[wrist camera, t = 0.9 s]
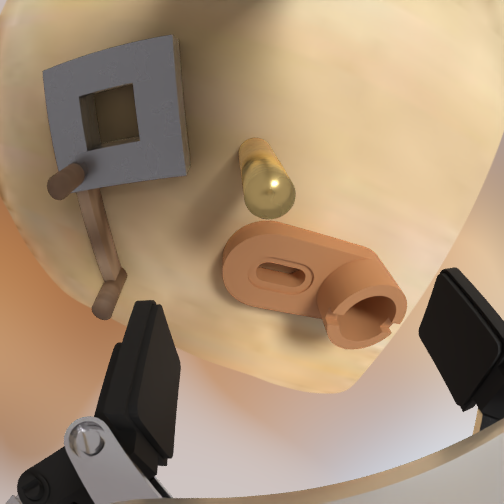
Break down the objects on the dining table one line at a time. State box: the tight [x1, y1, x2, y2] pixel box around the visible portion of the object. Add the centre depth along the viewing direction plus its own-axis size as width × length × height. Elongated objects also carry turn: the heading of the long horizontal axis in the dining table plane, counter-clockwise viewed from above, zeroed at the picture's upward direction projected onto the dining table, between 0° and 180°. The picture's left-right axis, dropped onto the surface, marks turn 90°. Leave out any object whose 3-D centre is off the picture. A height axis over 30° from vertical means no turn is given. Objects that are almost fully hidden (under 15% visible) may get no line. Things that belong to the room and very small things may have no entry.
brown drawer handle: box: [47, 163, 127, 320], centre depth 25 cm, size 14×2×6 cm, turn 3°
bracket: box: [222, 221, 407, 349], centre depth 29 cm, size 18×8×7 cm, turn 72°
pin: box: [239, 138, 295, 219], centre depth 21 cm, size 3×3×10 cm
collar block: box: [43, 35, 191, 193], centre depth 21 cm, size 11×11×3 cm
